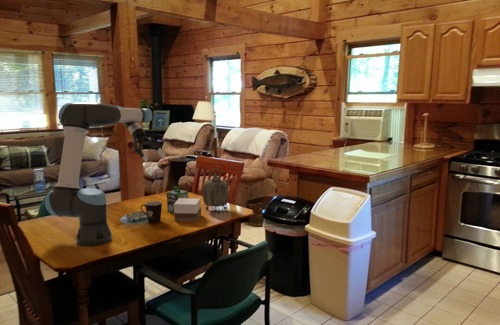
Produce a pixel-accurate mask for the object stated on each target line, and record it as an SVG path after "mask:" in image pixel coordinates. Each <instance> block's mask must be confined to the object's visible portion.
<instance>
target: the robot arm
mask: <svg viewBox="0 0 500 325" xmlns="http://www.w3.org/2000/svg"><path fill="white" fill-rule="evenodd" d="M57 116H58V122H59V124H60V126H62V130H63V131H64V139H63V146H62V154H61V159H60V164H59V165H60V167H59V171H58V172H59V173H58V179H57V182H56V184H54V185H53V188H52V190H51V191H49V192H48V193H47V194H46V196H45V201H44V202H45V203H44V204H45V205H44V206H45V208H46V210H47V211H48V213H49V214H50V215H52V216H55V217H60V218H78V221H79V227H78V229H77V234H76V236H75V240H76V241H75V242H76V244H77V245H79V246H85V247H86V246H87V247H88V246H89V247H91V246H92V247H93V246H99V245H103V244H105V243H108V242H111V240H112V239H113V235H112V231H111V229H110V226H109V224H108V220H107V219H108V216H107V198H106V194H105V192H104V191H103V190H100V188H99V189H98V188H92V187H91V188H81V186H79V180H80V174H81V168H82V158H83V152H84V144H85V138H86V135H87V134H88V133H90V128H99V127H100V128H101V127H105V126H107V127H108V126H114V125H117V124H119V123H121V124H123V125H124V127H126V129H127V130H128V132H129V133H130V136H132V140H131V142H132V146H133V152H134V154H136V155H139V156H140V158H142V160H143V161H144V162H145V163H147V162H148V161H149V158H148V156H147V155H146V153H145V151H144V150H142V148H143V146H145V145H147V146H150V147H151V148H153V149H155V150H156V151H157V153H158V154H159V156H160V157H161V158H162V160H164V159H165V158H166V157H167V155H166V154H165V153H164V150H163V149H162V148H163V145H162V144H160V142H158V141H157V140H156V139H154V137H153V136H151V135H149V137H148V136H147V133H146V131H145V130H144V129H143V127H142V126H141V124H140V122H141V123H147V122H148V123H149V122H151V121H152V120H153V110H151V108H143V107H142V108H139V107H138V108H137V107H122V106H119V105H113V104H105V103H100V102H84V101H83V102H80V101H79V102H75V101H71V102H67V103H65V104H63V105H62V106H61V107H60V109H59V111H58V115H57Z"/></svg>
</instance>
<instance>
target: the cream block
mask: <svg viewBox="0 0 500 325" xmlns="http://www.w3.org/2000/svg"><path fill="white" fill-rule="evenodd" d="M200 207H201V198H189V197H188V198H179V199H178V200H177V201H176V202H175V203H174V214H175V213H194V214H197V212H198V211H199V209H200Z"/></svg>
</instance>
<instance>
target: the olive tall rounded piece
mask: <svg viewBox="0 0 500 325" xmlns="http://www.w3.org/2000/svg"><path fill="white" fill-rule="evenodd" d="M212 171H219V172H220V173H219V174H217V173H214V174H213V173H211V172H212ZM208 173H209V175H210V176H212V177H211V179H209V180H208V179H207V180H205V182H204V184H203V188H202V199H203V200H202V201H203V204H204V205H205V210H206V211H207V210H209V207H213V208H214V207H215V208H214V210H213V212H215V213H217V212H218V210H217V207H223V210H227V207H226V205H227V204H228V200H229V199H228V198H229V184H228V182H227V180H224V179H220V177H219V176H221V175H222V173H223V172H222V170H221V169H219V168H212V169H210V170H209V172H208Z"/></svg>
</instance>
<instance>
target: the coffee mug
mask: <svg viewBox="0 0 500 325" xmlns="http://www.w3.org/2000/svg"><path fill="white" fill-rule="evenodd" d="M143 206H144V207H145V211H144V210H143V208H142V207H143ZM162 206H163V202H162V201H160V200H159V201H158V200H154V201H153V200H151V201H147V202H145V204H141V205H140V207H139V208H140V211H142V213H143V214H145V215H146V217H147V223H149V224H159V223H160V222H161V221H162V220H161V218H162V208H163V207H162Z"/></svg>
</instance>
